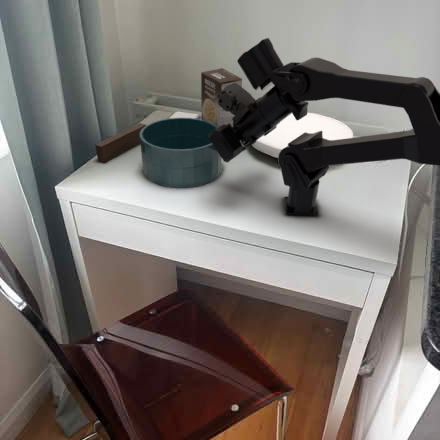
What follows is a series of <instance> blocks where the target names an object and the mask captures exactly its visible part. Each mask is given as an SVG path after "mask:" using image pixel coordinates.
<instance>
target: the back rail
mask: <svg viewBox="0 0 440 440" xmlns="http://www.w3.org/2000/svg"><path fill="white" fill-rule="evenodd" d="M146 125H147V124H146V123H142V122H139V123H137V124H135V125H133V126H131V127H128V128H126V129H125V130H122V131H121V132H118V133H116V134H114V135H112V136H110V137H108V138H106V139H104V140H101V141H100V142H98V143H96V144H95V151H96V156H97V162H101V163H103V164H105V163H107V162H109V161H111V160H112V159H114V158H116V157H118V156H120V155H122V154H124V153H125V152H127V151H129V150H132V149H134V148H135V147H137V146H139V145H141V144H140V132H141V129H143V128H144V127H145V126H146Z"/></svg>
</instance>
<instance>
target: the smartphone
mask: <svg viewBox="0 0 440 440" xmlns="http://www.w3.org/2000/svg"><path fill="white" fill-rule="evenodd" d="M168 118H195V119H200V114H199V113H194V112H188V111H180V110H177V111H175V112H173V113H172V114H171V115H170V116H169V117H167V118H166V119H168Z"/></svg>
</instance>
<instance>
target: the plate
mask: <svg viewBox="0 0 440 440" xmlns="http://www.w3.org/2000/svg"><path fill="white" fill-rule="evenodd" d="M319 131H322V137H323V138H324V139H327V140H339V139H347V138H354V132H353V130H352V128H350V127H349V126H348V125H347V124H345V123H343V122H342V121H340V120H337V119H335V118H333V117H329V116H326V115H322V114H319V113H313V112H308V111H307V115H306V116H305V117H303V118H301V119H300V120H296V119H295V117H294V115H293V114H292V113H291V114H290V115H289V116H287V117H286V118H285V119H283V120H282V121H281V122H280V123H279V124H278V125H276V128H275V129H274V130H273V131H271V132H270V133H269V134H267V135H266V136H264V135H263V136H262V137H260V138H259V139H258V140H256V142H255V143H254V144H253V145H251V146H252V147H253V148H254V149H256V150H257V151H258V152H259V151H260V152H261V153H263V154H266V155H268V156H270V157H273V158H277V159H278V157H279V153H280V152H281V150H282V149H284V148H285V147H287V146H288V143H290V142H291V141H293V140H294V139H296V138H297V137H299V136H300V135H302V134H303V133H305V132H306V133H316V132H319Z"/></svg>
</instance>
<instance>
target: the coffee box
mask: <svg viewBox="0 0 440 440" xmlns="http://www.w3.org/2000/svg"><path fill="white" fill-rule="evenodd" d="M232 83H237V84H239V85H240V86H241V87H242V88H243V85H242V84H243V78H242V77H240V76H238V75H236V74H234V73H232V72H230V71H229V70H227V69H225V68H223V67H221V68H217V69H211V70H206V71H201V73H200V84H201V85H200V86H201V87H200V90H201V91H200V92H201V93H200V94H201V98H200V99H201V108H200V109H201V111H200V112H201V113H200V114H201V118H202V120H205V121H208V122H211V123H213V124H215V125H216V126H218V127H220V126H221V125H223V124H225V125H227V124H229V123H230V124H231V126H232V127H233V120H232V118H233V117H234V116H235V115H233V114H232V113H230V112H226V111H225V110H224V109H223V108H221V107H220V106H219V105H218V100H219V99H218V97H217V96H218V95H219V94H220V93H221V92H222V90H223V89H224V87H226V86H228V85H230V84H232Z"/></svg>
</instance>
